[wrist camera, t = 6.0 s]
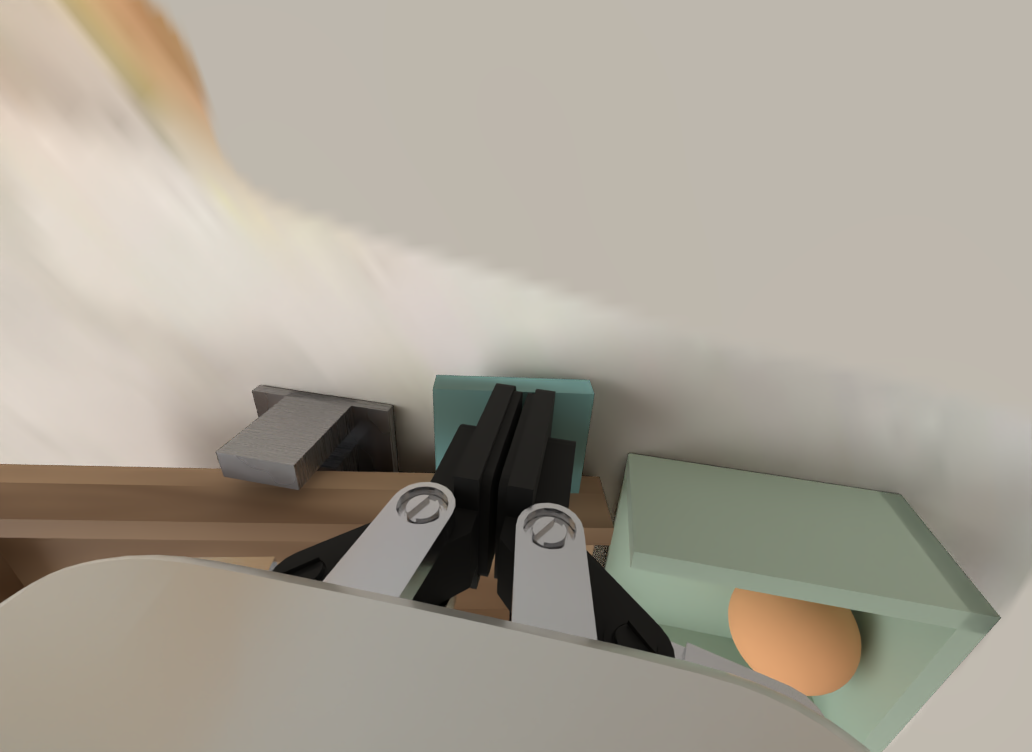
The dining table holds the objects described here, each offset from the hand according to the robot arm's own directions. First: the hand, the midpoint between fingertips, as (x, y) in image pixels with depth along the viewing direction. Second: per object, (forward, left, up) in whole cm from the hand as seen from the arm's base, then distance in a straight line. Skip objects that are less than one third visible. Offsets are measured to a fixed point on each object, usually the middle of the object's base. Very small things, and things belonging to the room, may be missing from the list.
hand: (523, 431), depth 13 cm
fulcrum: (-6, +7, -2) cm, 9 cm away
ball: (-6, -9, 0) cm, 10 cm away
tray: (-6, -7, -2) cm, 9 cm away
